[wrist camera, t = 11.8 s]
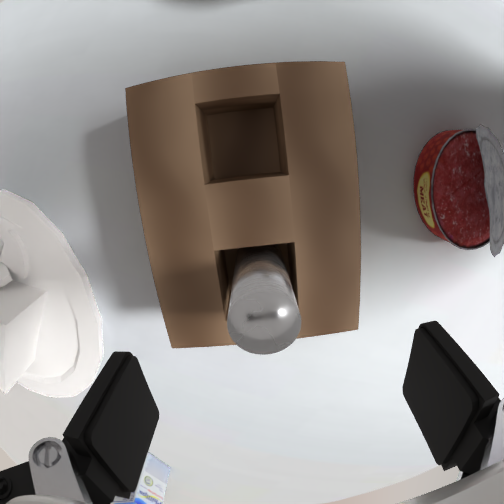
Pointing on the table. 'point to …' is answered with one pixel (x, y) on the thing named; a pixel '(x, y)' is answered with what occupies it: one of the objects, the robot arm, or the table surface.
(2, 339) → the dish
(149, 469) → the medicine box
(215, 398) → the table surface
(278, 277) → the pin
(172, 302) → the hole block
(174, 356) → the table surface
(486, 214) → the canned food
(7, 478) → the robot arm
